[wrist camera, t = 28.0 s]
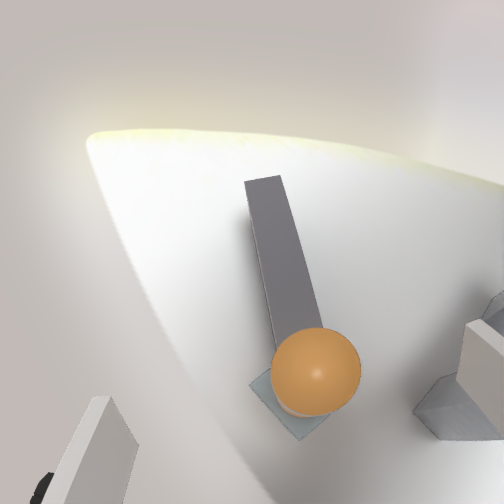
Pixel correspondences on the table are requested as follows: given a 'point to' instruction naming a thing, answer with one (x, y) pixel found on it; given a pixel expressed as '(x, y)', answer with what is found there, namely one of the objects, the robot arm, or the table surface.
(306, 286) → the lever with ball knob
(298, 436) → the mat
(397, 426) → the table surface
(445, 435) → the arch
